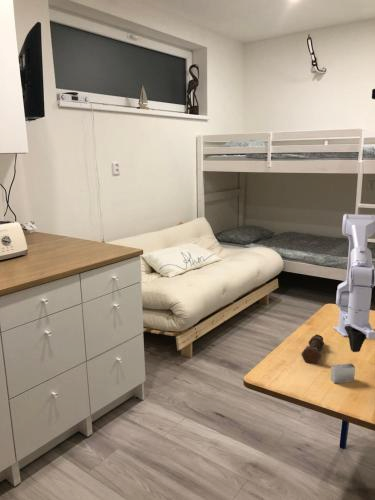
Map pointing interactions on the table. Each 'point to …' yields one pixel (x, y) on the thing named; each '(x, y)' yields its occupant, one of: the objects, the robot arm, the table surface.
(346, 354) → the table surface
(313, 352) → the bolt
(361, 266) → the robot arm
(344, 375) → the block
